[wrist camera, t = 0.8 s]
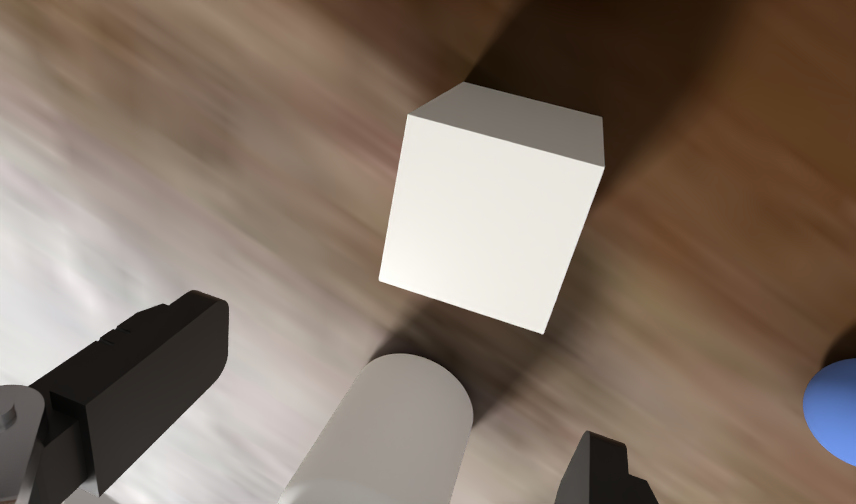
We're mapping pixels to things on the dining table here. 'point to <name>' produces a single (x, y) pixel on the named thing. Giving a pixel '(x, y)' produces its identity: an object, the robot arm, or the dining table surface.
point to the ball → (833, 408)
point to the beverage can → (389, 438)
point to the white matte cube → (492, 202)
